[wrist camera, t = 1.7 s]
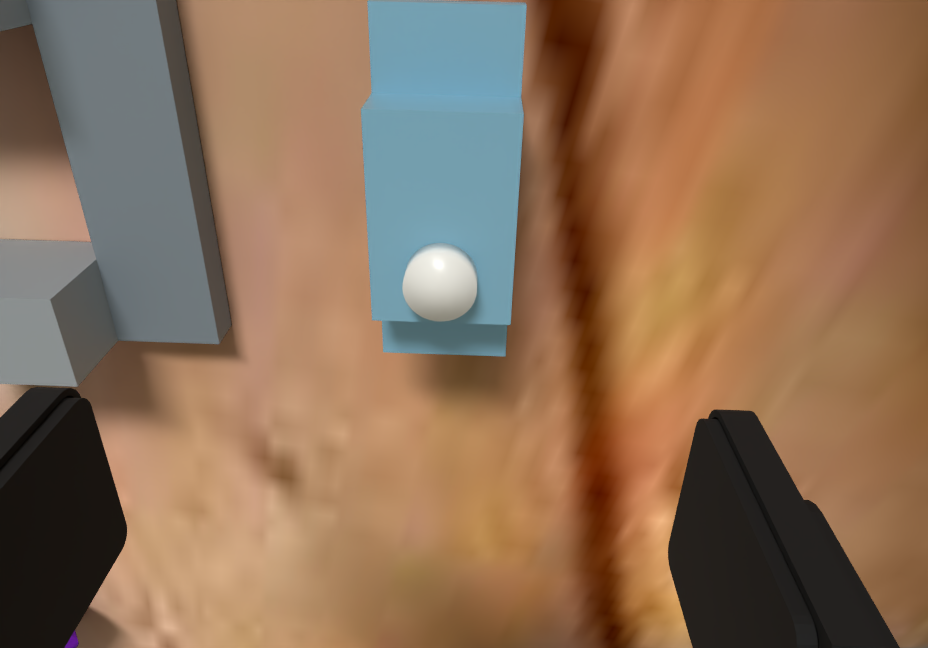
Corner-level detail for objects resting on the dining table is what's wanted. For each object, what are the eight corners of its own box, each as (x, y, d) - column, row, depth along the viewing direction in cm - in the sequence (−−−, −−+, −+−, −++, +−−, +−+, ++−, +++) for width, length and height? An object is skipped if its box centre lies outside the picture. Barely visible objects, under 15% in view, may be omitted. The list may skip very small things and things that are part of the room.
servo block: (519, -13, 22) (531, 18, 15) (503, 284, 27) (507, 404, 21) (392, -17, 22) (349, 13, 15) (401, 280, 27) (371, 399, 21)
